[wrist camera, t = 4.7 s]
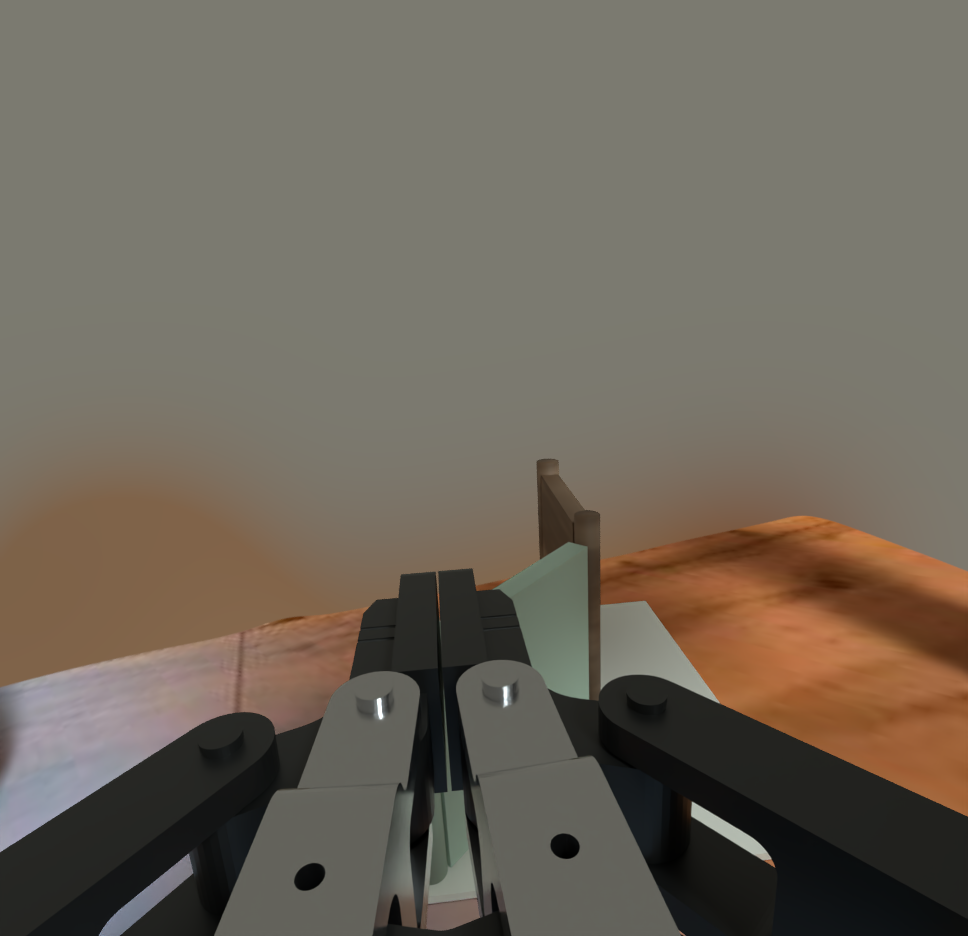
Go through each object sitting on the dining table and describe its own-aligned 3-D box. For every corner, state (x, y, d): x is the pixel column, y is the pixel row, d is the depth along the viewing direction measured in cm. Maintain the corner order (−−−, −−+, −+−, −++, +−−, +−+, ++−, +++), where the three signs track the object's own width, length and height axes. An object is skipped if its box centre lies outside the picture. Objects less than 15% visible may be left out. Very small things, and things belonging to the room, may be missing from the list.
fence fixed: (559, 610, 48) (555, 458, 45) (605, 717, 36) (604, 517, 32) (540, 612, 48) (534, 459, 45) (579, 720, 36) (575, 520, 32)
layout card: (645, 605, 49) (645, 599, 49) (822, 852, 27) (823, 843, 27) (363, 632, 48) (362, 627, 47) (307, 919, 25) (305, 910, 25)
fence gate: (570, 710, 36) (566, 531, 33) (590, 719, 35) (588, 536, 32) (409, 873, 26) (382, 641, 23) (432, 891, 25) (406, 653, 22)
